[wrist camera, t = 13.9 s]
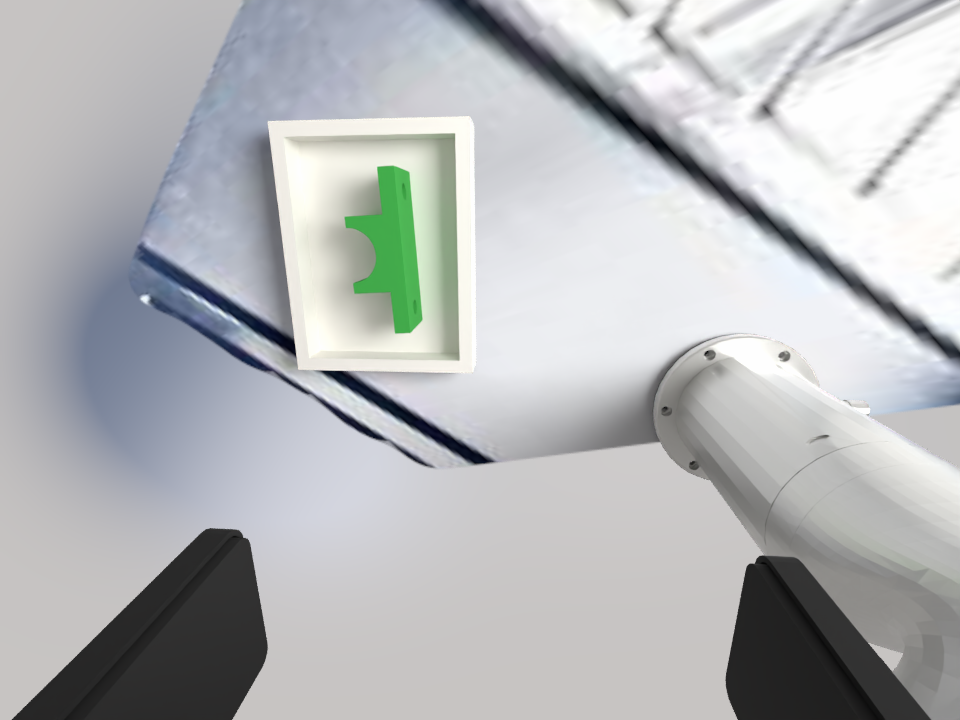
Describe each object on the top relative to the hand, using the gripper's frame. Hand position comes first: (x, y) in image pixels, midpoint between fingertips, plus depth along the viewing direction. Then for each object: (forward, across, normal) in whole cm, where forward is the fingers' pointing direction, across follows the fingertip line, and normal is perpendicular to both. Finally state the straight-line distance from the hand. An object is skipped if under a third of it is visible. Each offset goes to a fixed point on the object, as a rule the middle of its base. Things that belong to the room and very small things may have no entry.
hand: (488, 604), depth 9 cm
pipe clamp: (+30, +9, -5) cm, 31 cm away
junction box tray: (+30, +10, -4) cm, 32 cm away
